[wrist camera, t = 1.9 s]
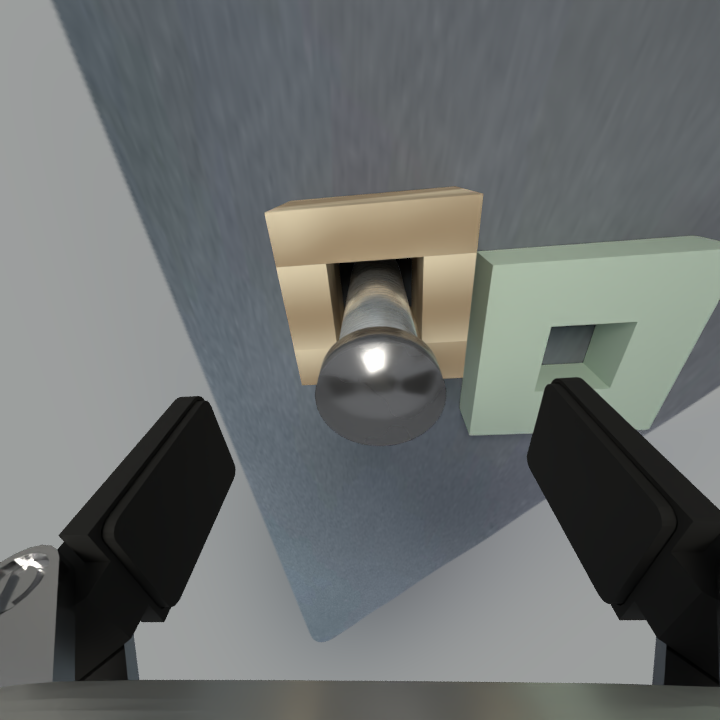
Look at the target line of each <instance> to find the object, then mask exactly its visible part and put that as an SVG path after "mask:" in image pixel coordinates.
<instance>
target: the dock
mask: <svg viewBox="0 0 720 720" xmlns="http://www.w3.org/2000/svg"><path fill="white" fill-rule="evenodd" d="M719 300H720V241H717V240H712V239H708V238H703V237H699V236H680V237H666V238H653V239H639V240H626V241H612V242H599V243H585V244H572V245H558V246H544V247H531V248H517V249H504V250H490V251H477V255H476V264H475V273H474V282H473V291H472V300H471V310H470V319H469V328H468V337H467V346H466V355H465V364H464V373H463V379H462V388H461V398H460V407H459V408H460V411H461V414H462V417H463V419H464V422H465V425H466V428H467V430H468V433H469V436H471V435H500V434H530V433H533V431H534V427H535V423H536V419H537V416H538V412H539V408H540V404H541V400H542V397H543V393H544V389H545V387H546V385H547V384H551V382H552V381H553V380H554V379H556V378H570V377H579V378H582V379H583V380H584V381H585V382H586V383H587V384H588V385H590V386H591V387H592V388H593V389H594V390H595V391H596V392H597V393H598V394H599V395H600V396H601V397H602V398H603V399H604V400H605V401H606V402H607V403H608V404H609V405H610V406H611V407H613V408H614V409H615V410H616V411H617V412H618V413H619V414H620V415H621V416H622V417H623V418H624V419H625V420H626V421H627V422H628V423H629V424H630V425H631V426H632V427H633V428H634V429H636V430H648V429H649V428H650V426H651V425H652V423H653V421H654V419H655V417H656V415H657V414H658V412H659V410H660V408H661V406H662V404H663V402H664V401H665V399H666V397H667V395H668V393H669V391H670V390H671V388H672V386H673V384H674V382H675V380H676V379H677V377H678V375H679V373H680V371H681V369H682V368H683V366H684V364H685V362H686V360H687V358H688V357H689V355H690V353H691V351H692V349H693V347H694V346H695V344H696V342H697V340H698V338H699V336H700V335H701V333H702V331H703V329H704V327H705V325H706V323H707V322H708V320H709V318H710V316H711V314H712V312H713V311H714V309H715V307H716V305H717V303H718V301H719ZM590 324H596V326H595V329H594V332H593V335H592V338H591V341H590V344H589V346H588V349H587V352H586V355H585V358H584V361H583V363H571V364H551V365H541V364H542V360H543V356H544V353H545V349H546V345H547V341H548V337H549V334H550V330H551V327H555V326H572V325H590Z"/></svg>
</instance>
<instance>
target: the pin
mask: <svg viewBox="0 0 720 720" xmlns="http://www.w3.org/2000/svg"><path fill="white" fill-rule="evenodd" d="M315 399H316V405H317V409H318V411H319V413H320V415H321V417H322V418H323V420H324V421H325V423H326V424H327V425H328V426H329V427H330V428H331V429H332V430H333V431H335V432H336V433H338V434H339V435H341V436H342V437H344V438H346V439H348V440H351V441H353V442H356V443H360V444H364V445H371V446H390V445H396V444H400V443H404V442H407V441H410V440H412V439H414V438H416V437H418V436H420V435H422V434H423V433H425V432H426V431H427V430H428V429H430V428H431V427H432V426H433V425H434V423H435V422H436V421H437V420H438V418H439V417H440V415H441V413H442V411H443V408H444V406H445V401H446V388H445V383H444V380H443V377H442V374H441V371H440V368H439V365H438V362H437V359H436V357H435V355H434V353H433V352H432V350H431V349H430V348H429V346H428V345H427V344H426V343H425V342H424V341H422V340H421V339H420V338H418V337H417V333H416V329H415V326H414V322H413V318H412V314H411V310H410V306H409V303H408V299H407V295H406V291H405V287H404V284H403V280H402V276H401V272H400V268H399V265H398V263H397V261H396V260H395V259H385V260H371V261H358V262H355V264H354V266H353V269H352V274H351V279H350V284H349V290H348V295H347V300H346V306H345V311H344V316H343V321H342V327H341V332H340V337H339V340H338V341H337V342H336V343H335V344H334V345H333V346H332V347H331V348H330V349H329V351H328V352H327V354H326V355H325V357H324V360H323V362H322V365H321V369H320V373H319V377H318V381H317V385H316V390H315Z"/></svg>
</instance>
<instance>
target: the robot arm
mask: <svg viewBox="0 0 720 720" xmlns="http://www.w3.org/2000/svg"><path fill="white" fill-rule="evenodd" d="M527 462H528V466H529V468H530V470H531V472H532V474H533V476H534V477H535V479H536V481H537V483H538V485H539V486H540V488H541V490H542V492H543V494H544V496H545V497H546V499H547V501H548V503H549V505H550V507H551V508H552V510H553V512H554V514H555V516H556V517H557V519H558V521H559V523H560V525H561V527H562V529H563V530H564V532H565V534H566V536H567V538H568V540H569V541H570V543H571V545H572V547H573V549H574V551H575V552H576V554H577V556H578V558H579V560H580V562H581V563H582V565H583V567H584V569H585V571H586V572H587V574H588V576H589V578H590V580H591V582H592V584H593V585H594V587H595V589H596V591H597V592H598V594H599V596H600V597H601V598H602V600H603V601H604V602H606V603H608V604H611V606H612V608H613V609H614V611H615V613H616V615H617V616H618V618H619V620H647V622H648V624H649V625H650V627H651V628H652V630H653V632H654V633H655V635H656V647H655V659H654V670H653V671H654V672H653V682H652V685H638V684H597V683H591V684H590V683H520V682H518V683H517V682H515V683H514V682H433V681H431V682H430V681H303V680H139V674H138V666H137V658H136V650H135V642H134V632H135V630H136V628H137V625H138V624H139V622H140V621H141V622H164V621H165V619H166V617H167V615H168V612H169V610H170V608H171V607H173V606H175V605H176V603H177V602H178V601H179V600H180V597H181V596H182V593H183V591H184V589H185V587H186V584H187V582H188V580H189V578H190V575H191V573H192V571H193V568H194V566H195V564H196V562H197V560H198V558H199V555H200V553H201V551H202V549H203V546H204V544H205V542H206V540H207V537H208V535H209V533H210V530H211V528H212V526H213V524H214V522H215V520H216V517H217V515H218V513H219V511H220V508H221V506H222V504H223V501H224V499H225V497H226V495H227V493H228V490H229V488H230V486H231V484H232V481H233V479H234V476H235V465H234V462H233V460H232V457H231V454H230V452H229V450H228V447H227V445H226V442H225V440H224V437H223V435H222V432H221V430H220V427H219V425H218V422H217V420H216V417H215V415H214V412H213V410H212V407H211V405H210V403H209V402H208V401H205V400H204V399H203V398H202V397H200V396H193V397H179V398H177V399H176V400H175V401H174V402H173V403H172V404H171V406H170V407H169V408H168V409H167V410H166V411H165V413H164V414H163V415H162V416H161V417H160V418H159V420H158V421H157V422H156V423H155V424H154V425H153V427H152V428H151V429H150V430H149V431H148V432H147V434H146V435H145V436H144V437H143V438H142V439H141V440H140V442H139V443H138V444H137V445H136V447H134V449H133V450H132V451H131V452H130V453H129V454H128V456H127V457H126V458H125V459H124V460H123V461H122V462H121V464H120V465H119V466H118V467H117V468H116V469H115V471H114V472H113V473H112V474H111V475H110V476H109V478H108V479H107V480H106V481H105V482H104V483H103V484H102V486H101V487H100V488H99V489H98V490H97V491H96V493H95V494H94V495H93V496H92V497H91V498H90V500H89V501H88V502H87V503H86V504H85V505H84V507H83V508H82V509H81V510H80V511H79V512H78V514H77V515H76V516H75V517H74V518H73V519H72V520H71V522H70V523H69V524H68V525H67V526H66V527H65V529H64V530H63V531H62V532H61V533H60V535H59V536H60V538H61V539H62V540H63V541H64V543H63V544H62V545H61V546H60V547H59V548H58V550H57V549H56V548H54V547H53V546H50V545H40V546H35V547H30V548H27V549H25V550H23V551H20V552H18V553H16V554H14V555H12V556H11V557H9V558H7V559H5V560H4V561H2V562H0V720H720V510H719V509H718V508H717V507H716V506H715V505H714V504H713V503H712V502H710V500H709V499H708V498H707V497H706V496H704V495H703V494H702V493H701V492H700V491H699V490H698V489H697V488H696V487H695V486H694V485H693V484H692V483H691V482H690V481H689V480H688V479H687V478H686V477H684V475H683V474H681V473H680V472H679V471H678V470H677V469H676V468H675V467H674V466H673V465H672V464H671V463H670V462H669V461H668V460H667V459H666V458H665V457H664V456H663V455H661V453H660V452H659V451H657V450H656V449H655V448H654V447H653V446H652V445H651V444H650V443H649V442H648V441H647V440H646V439H645V438H644V437H643V436H642V435H641V434H640V433H639V432H638V431H637V430H636V429H634V428H633V427H632V426H631V425H630V424H629V423H628V422H627V421H626V420H625V419H624V418H623V417H622V416H621V415H620V414H619V413H618V412H617V411H616V410H615V409H614V408H613V407H611V406H610V405H609V404H608V403H607V402H606V401H605V400H604V399H603V398H602V397H601V396H600V395H599V394H598V393H597V392H596V391H595V390H594V389H593V388H592V387H591V386H590V385H588V384H587V383H586V382H585V381H584V380H583V379H582V378H579V377H570V378H556V379H554V380H553V381H552V382H551V384H547V385H546V387H545V389H544V393H543V397H542V400H541V404H540V408H539V412H538V416H537V419H536V423H535V427H534V431H533V435H532V438H531V442H530V446H529V450H528V454H527Z"/></svg>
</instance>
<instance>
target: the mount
mask: <svg viewBox="0 0 720 720" xmlns="http://www.w3.org/2000/svg"><path fill="white" fill-rule="evenodd" d="M482 201H483V194H482V193H478V192H474V191H471V190H467V189H463V188H459V187H456V186H454V187H443V188H432V189H420V190H409V191H398V192H386V193H375V194H364V195H352V196H341V197H330V198H318V199H307V200H296V201H289V202H287V203H285V204H283V205H280V206H278V207H276V208H274V209H272V210H269V211H267V212H265V218H266V222H267V227H268V231H269V236H270V240H271V245H272V250H273V254H274V259H275V263H276V268H277V272H278V277H279V282H280V286H281V291H282V295H283V300H284V304H285V309H286V314H287V318H288V323H289V327H290V332H291V336H292V341H293V346H294V350H295V355H296V359H297V364H298V368H299V373H300V378H301V382H302V385H316V384H317V381H318V377H319V373H320V369H321V365H322V362H323V360H324V357H325V355H326V354H327V352H328V351H329V349H330V348H331V347H332V346H333V345H334V344H335V343H336V342H337V341H338V340H339V337H340V332H341V327H342V321H343V316H344V303H343V294H342V285H341V276H340V268H339V263H344V262H358V261H371V260H385V259H399V258H412V293H411V306H410V310H411V314H412V318H413V322H414V326H415V329H416V333H417V337H418V338H420V339H421V340H422V341H424V342H425V343H426V344H427V345H428V346H429V348H430V349H431V350H432V352H433V353H434V355H435V357H436V359H437V362H438V365H439V368H440V371H441V374H442V377H443V379H445V378H463V373H464V364H465V355H466V346H467V337H468V328H469V319H470V310H471V300H472V291H473V282H474V273H475V264H476V255H477V246H478V237H479V228H480V219H481V210H482Z"/></svg>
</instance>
